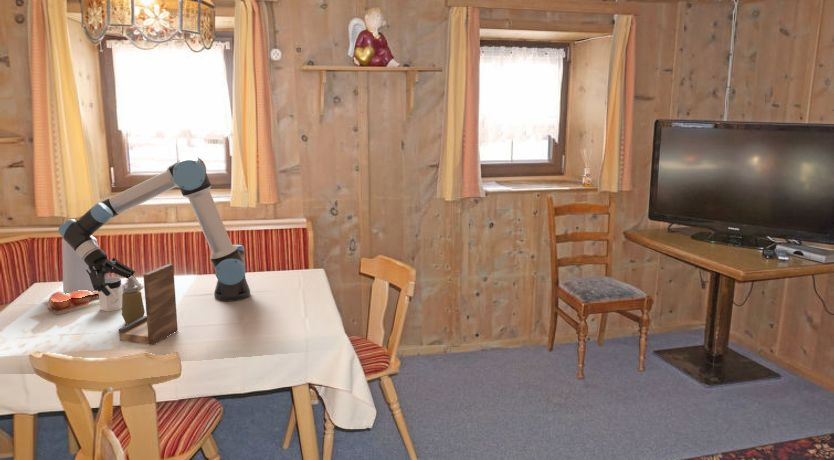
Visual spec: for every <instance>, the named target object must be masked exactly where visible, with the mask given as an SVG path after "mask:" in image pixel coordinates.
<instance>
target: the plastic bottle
mask: <svg viewBox="0 0 834 460" xmlns="http://www.w3.org/2000/svg"><path fill="white" fill-rule="evenodd" d="M90 237H91V238H92V239H93V240H94V241H95V242H96V243H97V245H98V246H99V244H98V239H97V238H96V237H95V236H93V234H92V235H91V236H90ZM61 250H62V252H61V254H62V256H61V257H62V258H61V259H62V288H63V289H62V290H63V291H62V292H63V293H64V292H65V293H70V292H73V291H78V290H88V291H91V292H93V291H95V290H94V288H93V285H92V282H91V279H90V276H89V274H88V273H87V271H86V270H87V269H88V267H89V266H88V265H87V264H86V263H85V262H84V260H83V259H82V258H81V257H80V256H79V255H78V254H77V253H76V252H75V250H74V249H73V248H72V247H71V246H70V245H69V244H68V243H67V242H66V241H65V240H64V239H63V238H62V240H61ZM96 274H97V272H96ZM96 291H97V290H96ZM65 293H64V294H65Z"/></svg>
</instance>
